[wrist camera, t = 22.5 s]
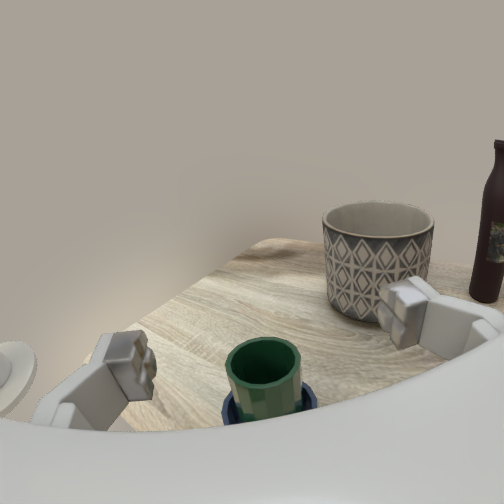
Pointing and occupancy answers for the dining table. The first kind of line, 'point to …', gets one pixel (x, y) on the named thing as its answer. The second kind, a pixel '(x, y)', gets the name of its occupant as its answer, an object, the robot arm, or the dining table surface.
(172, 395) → the dining table surface
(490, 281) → the wine bottle
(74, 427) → the robot arm
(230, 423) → the wide cup
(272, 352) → the slim cup
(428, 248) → the planter
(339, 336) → the dining table surface
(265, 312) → the dining table surface
